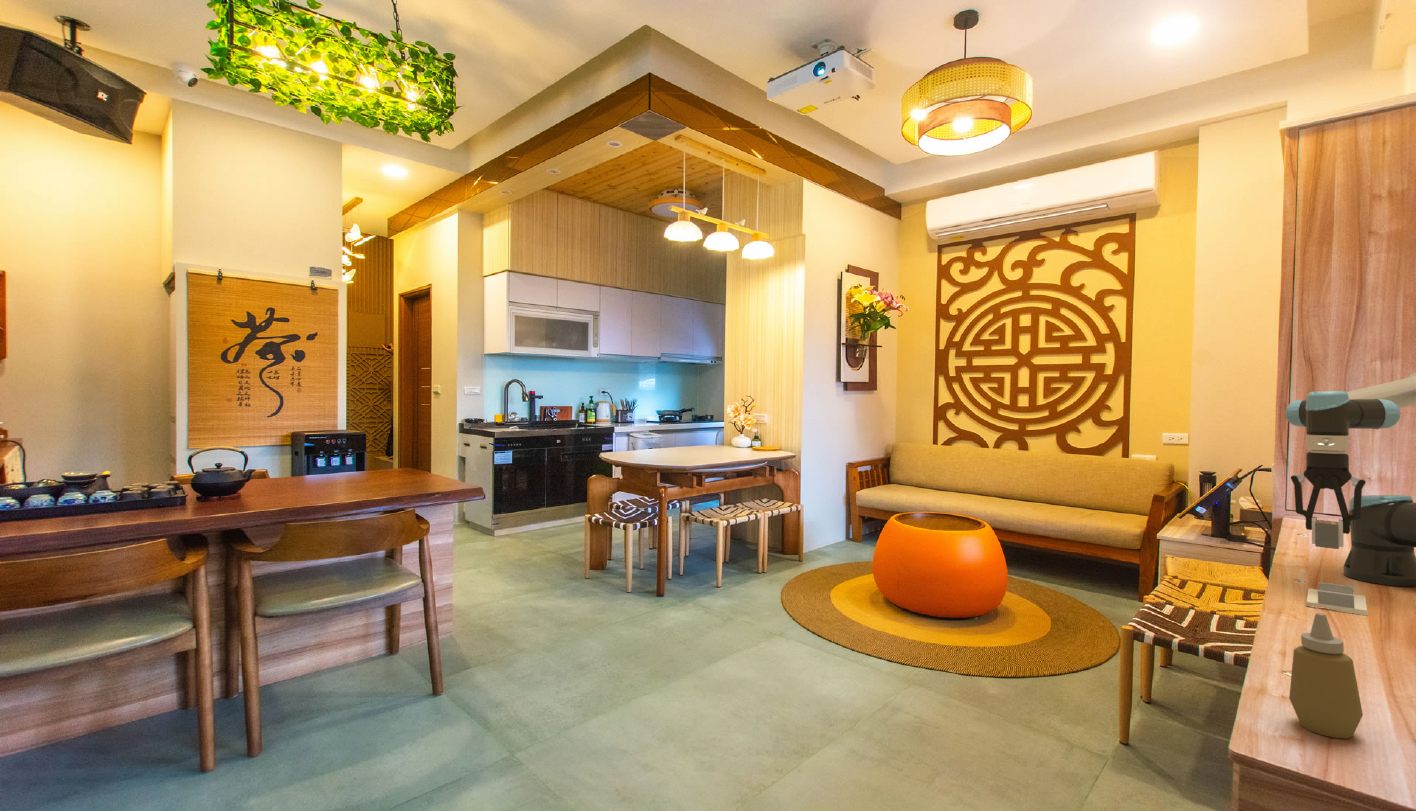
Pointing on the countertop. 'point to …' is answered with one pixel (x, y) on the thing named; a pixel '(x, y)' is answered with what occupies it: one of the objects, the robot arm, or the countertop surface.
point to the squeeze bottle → (1324, 684)
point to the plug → (1326, 534)
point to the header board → (1337, 598)
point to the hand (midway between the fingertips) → (1327, 544)
